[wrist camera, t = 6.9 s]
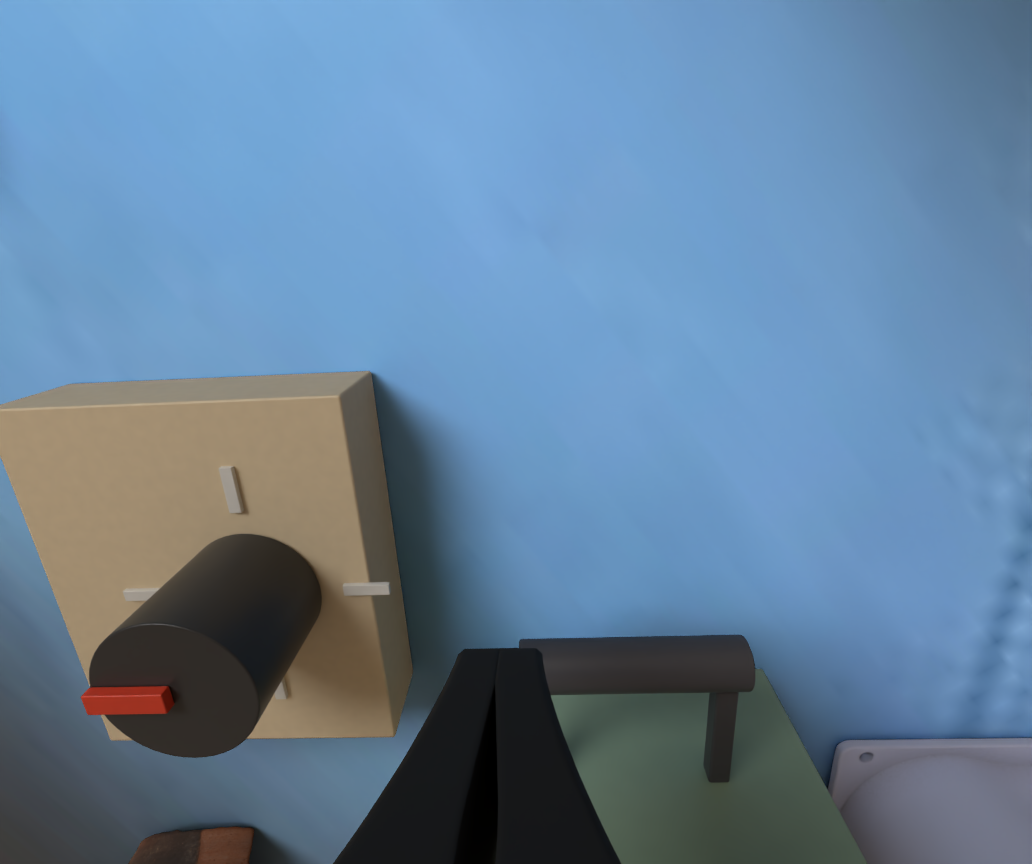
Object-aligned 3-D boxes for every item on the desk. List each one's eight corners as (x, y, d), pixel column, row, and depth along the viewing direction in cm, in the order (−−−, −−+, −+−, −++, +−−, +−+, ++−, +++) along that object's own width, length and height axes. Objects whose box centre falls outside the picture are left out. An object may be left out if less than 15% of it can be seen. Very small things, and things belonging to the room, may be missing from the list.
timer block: (390, 369, 17) (360, 395, 14) (429, 671, 21) (411, 742, 18) (69, 383, 18) (-26, 411, 15) (165, 676, 22) (106, 745, 19)
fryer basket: (449, 562, 18) (400, 753, 11) (776, 553, 18) (929, 748, 11) (485, 905, 24) (466, 1169, 17) (733, 905, 24) (815, 1177, 17)
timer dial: (309, 530, 16) (231, 631, 12) (332, 643, 17) (268, 769, 13) (176, 534, 16) (53, 634, 12) (208, 646, 17) (107, 770, 13)
